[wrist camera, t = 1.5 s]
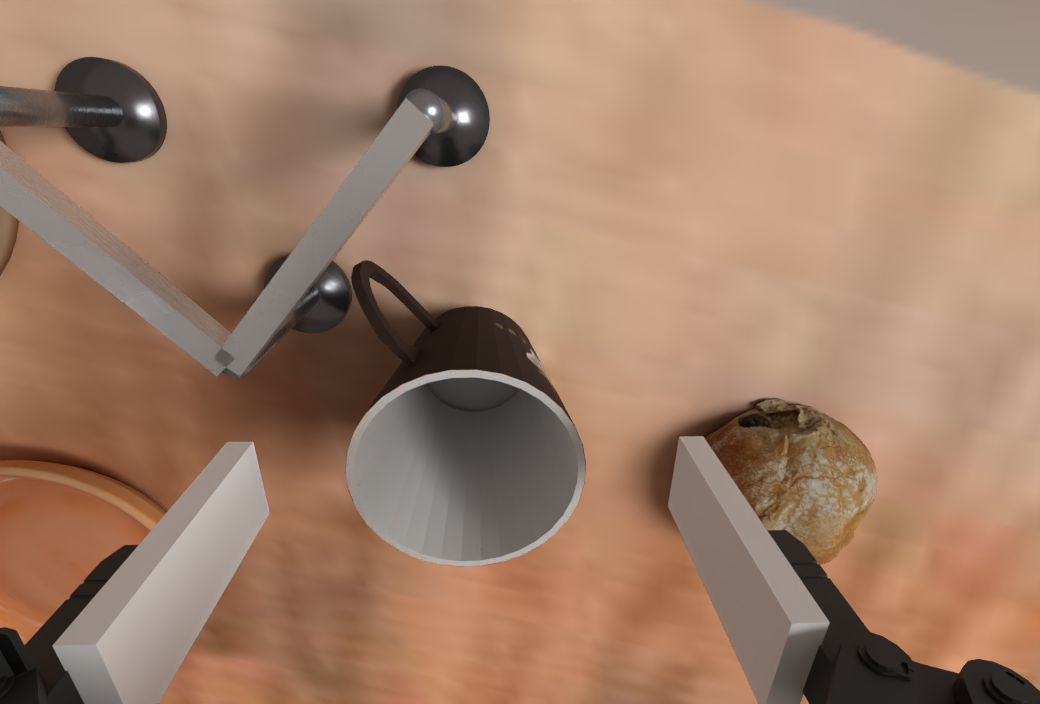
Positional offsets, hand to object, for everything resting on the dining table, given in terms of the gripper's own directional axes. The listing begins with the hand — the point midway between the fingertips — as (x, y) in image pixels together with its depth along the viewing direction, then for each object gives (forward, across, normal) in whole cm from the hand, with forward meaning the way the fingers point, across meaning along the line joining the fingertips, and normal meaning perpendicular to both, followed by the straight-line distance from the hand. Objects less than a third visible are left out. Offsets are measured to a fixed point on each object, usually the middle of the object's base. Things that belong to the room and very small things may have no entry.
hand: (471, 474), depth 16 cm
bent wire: (+12, -8, +6) cm, 16 cm away
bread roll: (+12, +18, -9) cm, 23 cm away
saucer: (+12, -24, -14) cm, 31 cm away
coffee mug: (+12, 0, 0) cm, 12 cm away
